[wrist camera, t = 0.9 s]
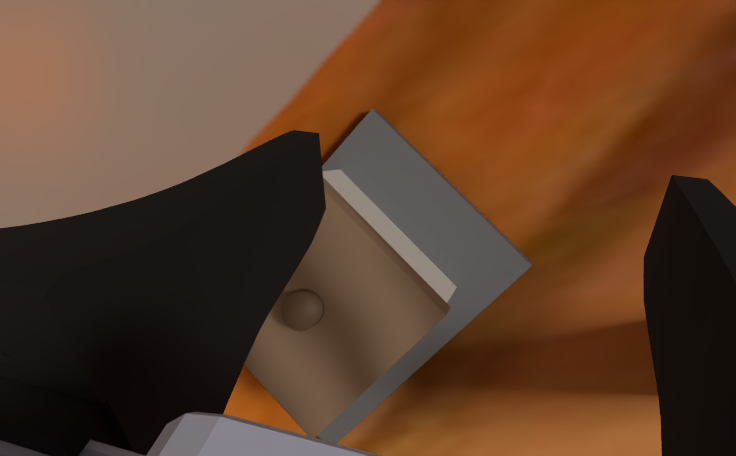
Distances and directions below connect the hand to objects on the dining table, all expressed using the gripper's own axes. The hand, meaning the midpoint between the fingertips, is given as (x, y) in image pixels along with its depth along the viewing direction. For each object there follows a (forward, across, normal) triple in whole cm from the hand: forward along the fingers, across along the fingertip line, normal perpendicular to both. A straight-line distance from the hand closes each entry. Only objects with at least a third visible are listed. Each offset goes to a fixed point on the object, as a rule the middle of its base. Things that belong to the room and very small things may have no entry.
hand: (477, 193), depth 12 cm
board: (+15, +9, +18) cm, 25 cm away
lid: (+10, +9, +16) cm, 21 cm away
